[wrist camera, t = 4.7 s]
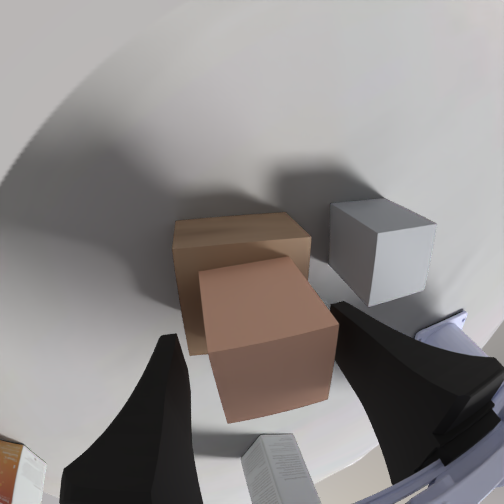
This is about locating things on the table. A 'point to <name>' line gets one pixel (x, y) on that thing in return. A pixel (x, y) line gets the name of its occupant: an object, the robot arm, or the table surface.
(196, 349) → the walnut block
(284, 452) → the skincare box
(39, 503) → the small box
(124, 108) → the table surface
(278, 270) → the terracotta block
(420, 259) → the slate block
